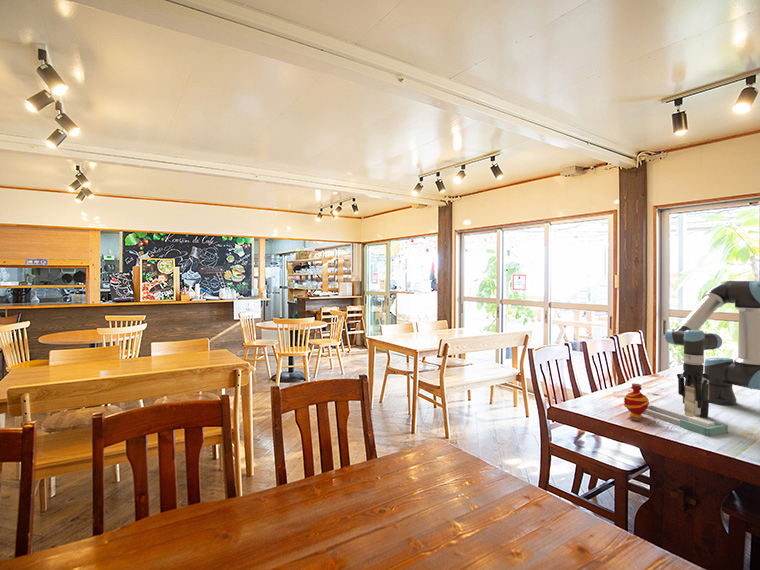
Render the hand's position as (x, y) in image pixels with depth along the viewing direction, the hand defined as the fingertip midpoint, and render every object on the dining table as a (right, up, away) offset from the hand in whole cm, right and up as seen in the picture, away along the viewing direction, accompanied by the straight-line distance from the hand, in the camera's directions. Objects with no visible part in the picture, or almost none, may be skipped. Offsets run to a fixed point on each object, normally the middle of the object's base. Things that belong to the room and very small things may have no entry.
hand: (692, 412), depth 188 cm
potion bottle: (-24, -3, +3) cm, 25 cm away
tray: (-6, -3, -14) cm, 15 cm away
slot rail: (-11, -3, +2) cm, 12 cm away
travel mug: (+6, -3, +4) cm, 8 cm away
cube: (-6, -3, -15) cm, 16 cm away
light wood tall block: (0, -2, 0) cm, 2 cm away
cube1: (-7, -3, -11) cm, 13 cm away
